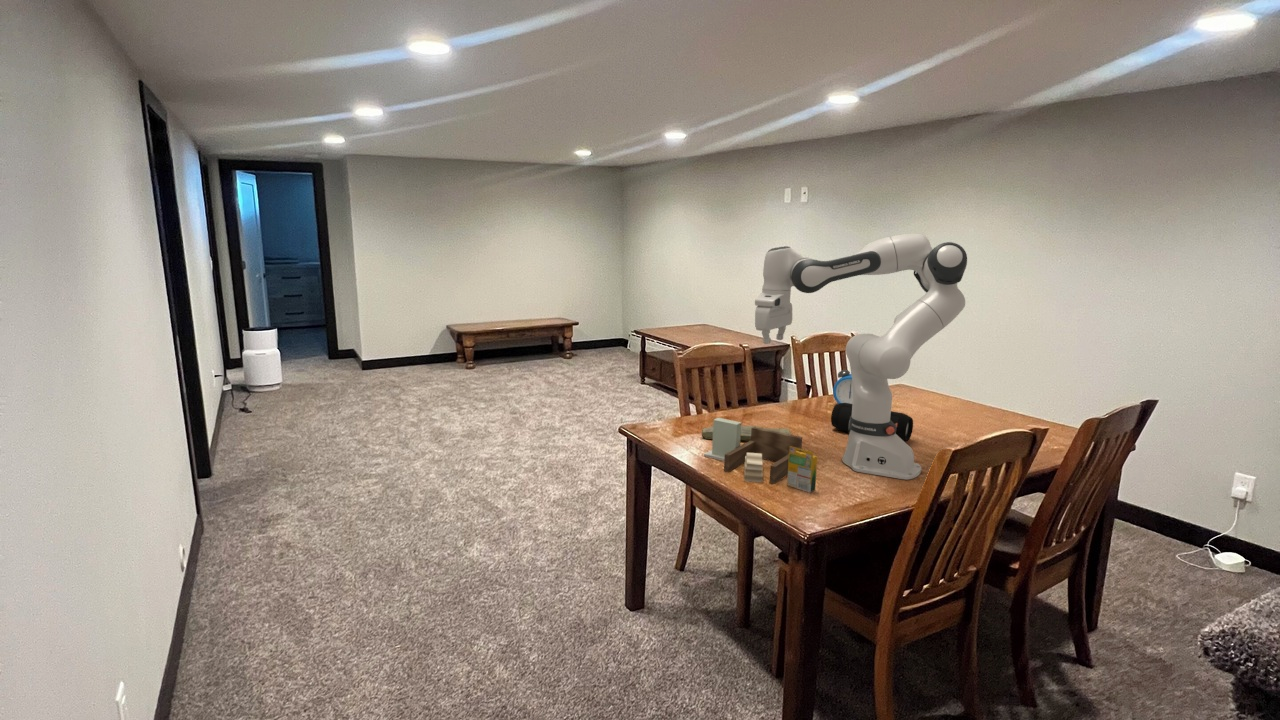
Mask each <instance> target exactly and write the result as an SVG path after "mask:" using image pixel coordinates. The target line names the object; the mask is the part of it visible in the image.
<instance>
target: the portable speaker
mask: <svg viewBox="0 0 1280 720" xmlns="http://www.w3.org/2000/svg"><path fill="white" fill-rule="evenodd" d="M850 416H852V404H850V403H839V404H838V403H836V404H835V405H834V406H833V408H832V412H831V417H830V422H831V423H830V424H831V426H832V427H834V428H835V429H837V430H838V431H840V430H841V431H842V432H845V433H849V420H850ZM890 420H891V421H892V422H893V423H894V424H896V423H897V427H896V434H897V435H898V436H899V437H900V438H901V439H902V440H903V441H904V442H905V443H907V442H909V441H910V439H911V437H912V433H913V430H914V419H913V417H911V416H910V415H908V414H907V413H903V412H898V411H894V410H893V411H892V410H891V416H890ZM841 431H840V432H841Z"/></svg>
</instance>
